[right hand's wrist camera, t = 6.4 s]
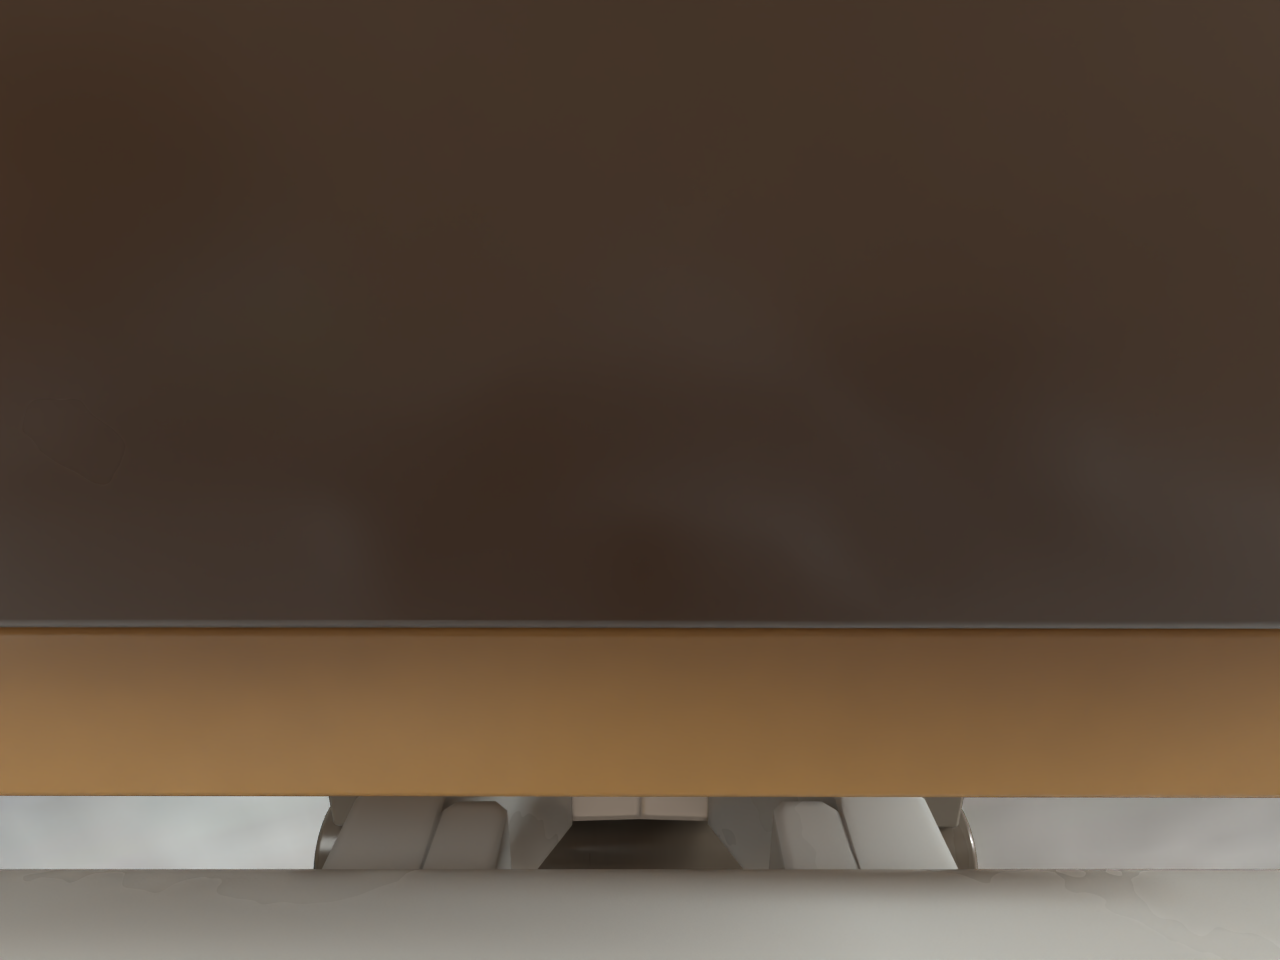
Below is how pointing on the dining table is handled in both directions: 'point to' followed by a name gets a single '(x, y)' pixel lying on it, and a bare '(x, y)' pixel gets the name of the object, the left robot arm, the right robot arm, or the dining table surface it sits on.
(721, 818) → the right robot arm
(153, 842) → the dining table surface
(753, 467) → the cabinet
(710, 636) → the drawer
